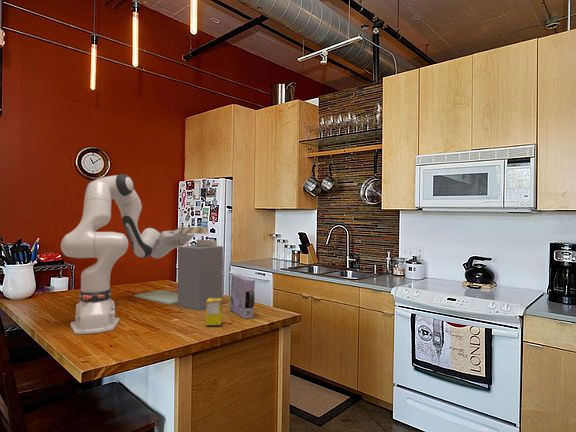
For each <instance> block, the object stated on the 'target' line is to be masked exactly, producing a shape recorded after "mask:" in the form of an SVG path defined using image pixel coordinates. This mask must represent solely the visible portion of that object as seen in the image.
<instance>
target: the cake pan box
mask: <svg viewBox="0 0 576 432" xmlns="http://www.w3.org/2000/svg"><path fill="white" fill-rule="evenodd" d="M230 280H231V281H230V301H229V302H230V303H229V310H230V311H231V312H233V313H235V314H236V315H237V316H239V317H241V318H242V319H244V320H247V318H249V319H253V318H254V307H255V299H256V297H255V288H256V287H255V283H256V281H255V280H254V279H252V278H249V277H247V276H245V275H243V274H241V273H236V274H235V273H231V279H230Z"/></svg>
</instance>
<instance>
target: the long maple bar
mask: <svg viewBox="0 0 576 432" xmlns="http://www.w3.org/2000/svg"><path fill="white" fill-rule="evenodd" d="M179 228H182V229H183V231H182V232H179V233H194V234H200V235H201V234H202V235H206V234H209V227H199V226H198V227H197V226H178V227H177V229H179Z"/></svg>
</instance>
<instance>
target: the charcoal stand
mask: <svg viewBox="0 0 576 432" xmlns="http://www.w3.org/2000/svg"><path fill="white" fill-rule="evenodd" d="M223 274H224V247H223V246H218V245H217V246H216V247H209V246H197V244H196V245H183V246H179V247H177V293H178V304H177V307H181V308H187V309H189V310H194V311H202V310H203V311H204V310H206V301H207V300H208V299H209V298H222V305H223V298H224V297H223V294H224V290H223V289H224V286H223V285H224V282H223V281H224V275H223Z"/></svg>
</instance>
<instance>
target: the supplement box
mask: <svg viewBox="0 0 576 432" xmlns="http://www.w3.org/2000/svg"><path fill="white" fill-rule="evenodd" d="M205 311H206V313H205V314H206V315H205V316H206V318H205V322H206V325H205V327H206V328H210V327H211V328H213V327H219V328H220V327H221V326H222V324H223V304H222V298H209V299H208V300H207V301H206V309H205Z"/></svg>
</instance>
